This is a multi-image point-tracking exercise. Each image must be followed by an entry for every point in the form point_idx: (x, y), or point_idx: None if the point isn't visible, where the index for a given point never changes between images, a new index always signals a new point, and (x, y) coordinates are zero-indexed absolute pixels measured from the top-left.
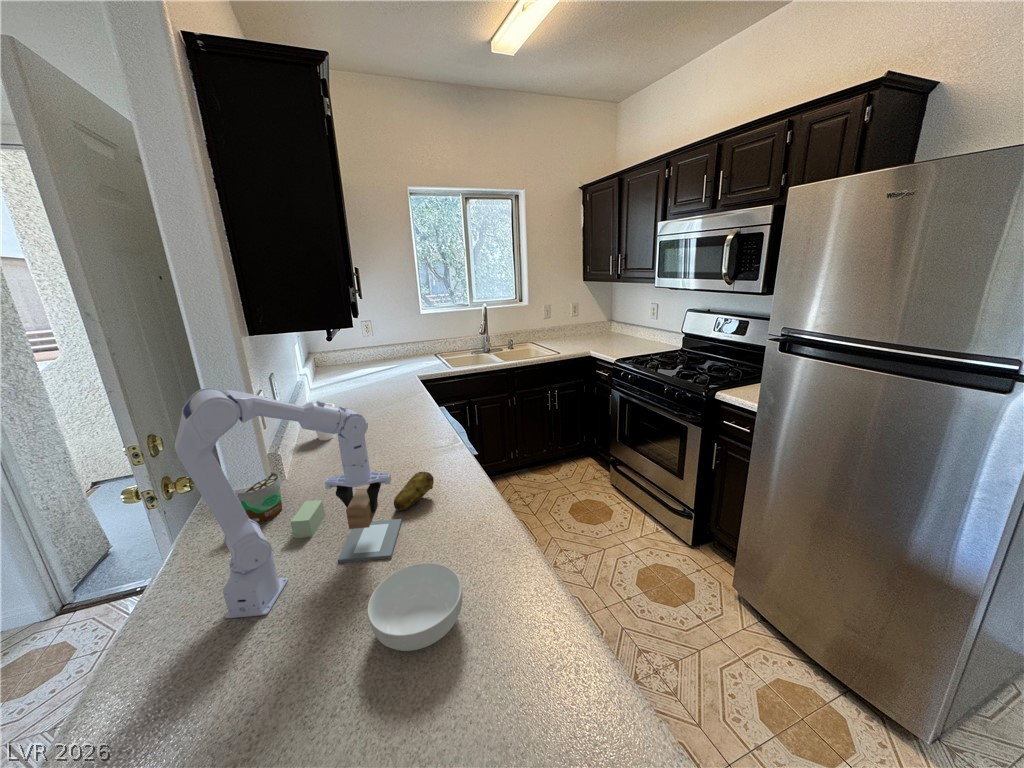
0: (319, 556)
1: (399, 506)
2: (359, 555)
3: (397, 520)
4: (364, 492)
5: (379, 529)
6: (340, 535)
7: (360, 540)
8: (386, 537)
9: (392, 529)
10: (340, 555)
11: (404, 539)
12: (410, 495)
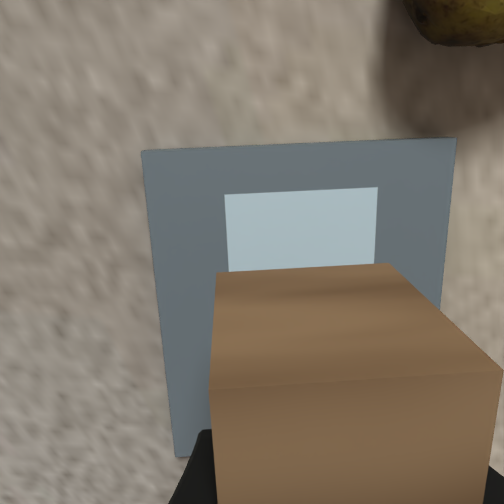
0: (60, 403)
1: (466, 43)
2: None
3: (429, 154)
4: (354, 476)
5: (329, 243)
6: (89, 248)
7: None
8: None
9: (408, 247)
10: (177, 431)
11: (471, 306)
12: None
